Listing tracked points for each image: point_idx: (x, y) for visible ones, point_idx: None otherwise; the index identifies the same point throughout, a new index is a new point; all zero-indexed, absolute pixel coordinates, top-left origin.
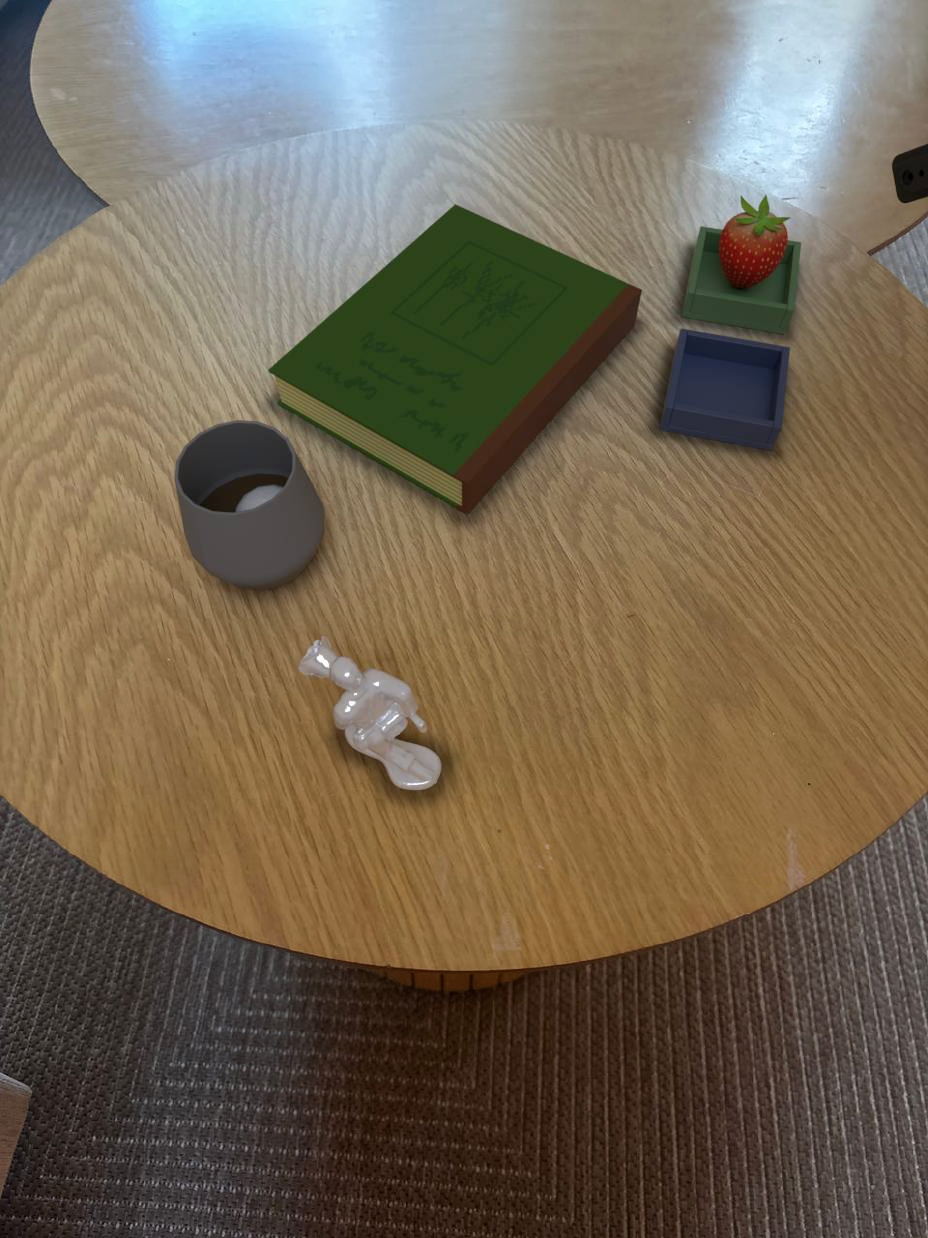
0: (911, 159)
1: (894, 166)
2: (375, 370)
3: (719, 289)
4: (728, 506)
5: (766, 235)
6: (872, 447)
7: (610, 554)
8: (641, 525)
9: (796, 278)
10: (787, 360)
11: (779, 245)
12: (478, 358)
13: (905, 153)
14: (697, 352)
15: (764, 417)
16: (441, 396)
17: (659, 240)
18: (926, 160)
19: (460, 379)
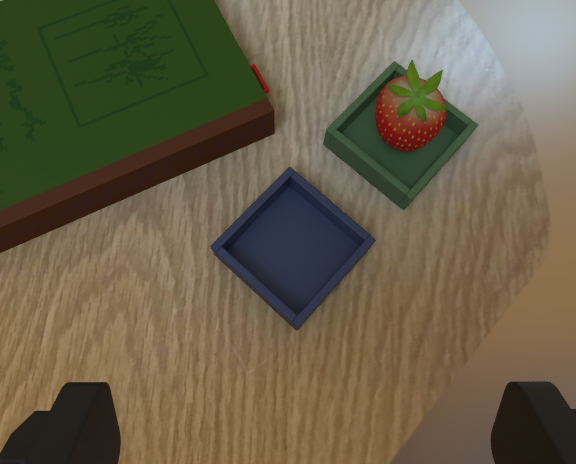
0: (19, 455)
1: (28, 418)
2: None
3: (375, 133)
4: (214, 368)
5: (410, 117)
6: (393, 377)
7: (78, 361)
8: (125, 346)
9: (441, 164)
10: (361, 253)
11: (422, 133)
12: (72, 114)
13: (54, 410)
14: (300, 194)
15: (311, 294)
16: (11, 139)
17: (364, 52)
18: None
19: (41, 128)
